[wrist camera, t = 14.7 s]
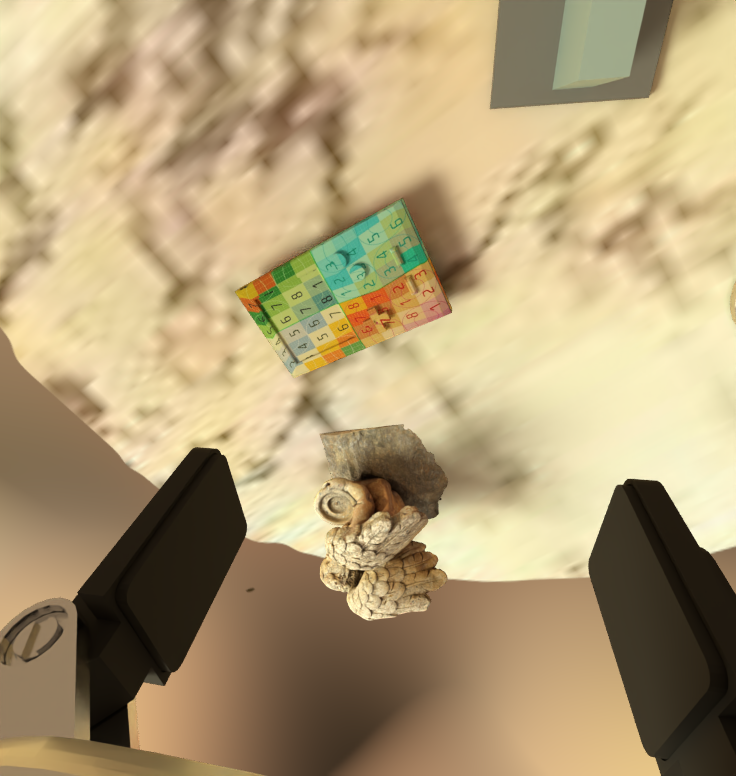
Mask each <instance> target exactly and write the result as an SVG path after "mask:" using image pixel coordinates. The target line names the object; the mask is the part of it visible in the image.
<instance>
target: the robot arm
mask: <svg viewBox="0 0 736 776" xmlns="http://www.w3.org/2000/svg"><path fill="white" fill-rule="evenodd" d="M730 311H731V314H732V318H733V321H734V322H735V324H736V282H735V284H734V286H733V290H732V294H731V298H730ZM246 532H247V523H246V520H245V517H244V513H243V510H242V507H241V504H240V501H239V497H238V494H237V491H236V488H235V485H234V481H233V478H232V475H231V472H230V469H229V465H228V462H227V459H226V457H225V456H224V455H221V453H220V451H219V450H218V449H212V448H198V447H196V448H193V449H192V450H191V451H190V452H189V453H188V455H187V456H186V457H185V458H184V460H183V461H182V462H181V463H180V465H179V466H178V467H177V468H176V470H175V471H174V472H173V473H172V475H171V476H170V477H169V478H168V480H167V481H166V482H165V483H164V485H163V486H162V487H161V488H160V490H159V491H158V492H157V493H156V495H155V496H154V497H153V498H152V500H151V501H150V502H149V504H148V505H147V506H146V507H145V508H144V510H143V511H142V512H141V513H140V515H139V516H138V517H137V519H136V520H135V521H134V522H133V523H132V525H131V526H130V527H129V529H128V530H127V531H126V532H125V533H124V535H123V536H122V537H121V539H120V540H119V541H118V542H117V544H116V545H115V546H114V547H113V549H112V550H111V551H110V552H109V553H108V555H107V556H106V557H105V559H104V560H103V561H102V562H101V563H100V565H99V566H98V567H97V569H96V570H95V571H94V572H93V574H92V575H91V576H90V577H89V578H88V580H87V581H86V582H85V583H84V585H83V586H82V587H81V588H80V590H79V591H78V592H77V593H78V595H77V596H76V597H75V599H74V600H73V601H72V602H71V601H70V600H68V599H64V598H53V599H48V600H45V601H42V602H39V603H37V604H35V605H33V606H31V607H29V608H27V609H25V610H24V611H22V612H21V613H20V614H19V615H17V616H16V617H15V618H13V619H12V620H11V621H10V622H9V623H8V624H7V625H6V626H5V627H4V628H3V629H2V630H1V631H0V776H265V775H260V774H256V773H250V772H246V771H241V770H236V769H232V768H227V767H222V766H217V765H212V764H208V763H203V762H198V761H193V760H188V759H184V758H179V757H174V756H169V755H164V754H159V753H154V752H149V751H143V750H140V745H139V733H138V722H137V711H136V701H135V700H136V699H135V696H136V695H137V693H138V691H139V689H140V687H141V685H142V684H143V682H145V683H150V684H156V685H161V686H165V684H166V682H167V680H168V678H169V676H170V674H171V672H175V671H177V670H178V669H179V667H180V666H181V664H182V663H183V661H184V658H185V657H186V655H187V652H188V650H189V648H190V647H191V644H192V642H193V640H194V638H195V636H196V634H197V632H198V630H199V628H200V626H201V624H202V622H203V620H204V618H205V616H206V614H207V612H208V610H209V608H210V606H211V604H212V602H213V600H214V598H215V596H216V594H217V592H218V590H219V588H220V586H221V584H222V582H223V580H224V578H225V576H226V574H227V572H228V570H229V568H230V566H231V564H232V562H233V560H234V558H235V556H236V554H237V552H238V550H239V548H240V546H241V544H242V542H243V540H244V538H245V536H246ZM588 567H589V575H590V578H591V582H592V584H593V588H594V591H595V595H596V597H597V601H598V604H599V607H600V611H601V614H602V617H603V620H604V623H605V626H606V630H607V633H608V636H609V639H610V642H611V646H612V649H613V652H614V655H615V658H616V662H617V665H618V668H619V671H620V675H621V678H622V681H623V684H624V687H625V690H626V694H627V697H628V700H629V703H630V707H631V710H632V713H633V716H634V719H635V723H636V726H637V729H638V732H639V735H640V738H641V742H642V744H643V747H644V749H645V751H646V752H647V754H648V755H649V756H651V757H655V758H656V761H657V764H658V767H659V770H660V773H661V776H736V594H735V592H734V591H733V589H732V588H731V586H730V585H729V583H728V581H727V579H726V578H725V576H724V574H723V573H722V571H721V570H720V568H719V566H718V565H717V563H716V561H715V560H714V559H713V557H712V556H711V555H710V553H709V552H708V551H706V550H705V549H703V548H701V547H699V545H698V544H697V542H696V540H695V539H694V537H693V535H692V533H691V532H690V530H689V528H688V527H687V525H686V523H685V522H684V520H683V518H682V517H681V515H680V513H679V512H678V510H677V508H676V507H675V505H674V503H673V502H672V500H671V498H670V497H669V495H668V493H667V491H666V490H665V488H664V486H663V485H662V484H661V483H660V482H658V481H652V480H639V479H627V480H626V481H625V483H624V484H623V485H617V486H616V488H615V490H614V493H613V495H612V498H611V501H610V504H609V506H608V509H607V512H606V515H605V517H604V520H603V523H602V526H601V528H600V531H599V534H598V536H597V539H596V542H595V545H594V547H593V550H592V553H591V556H590V558H589V564H588Z"/></svg>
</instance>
